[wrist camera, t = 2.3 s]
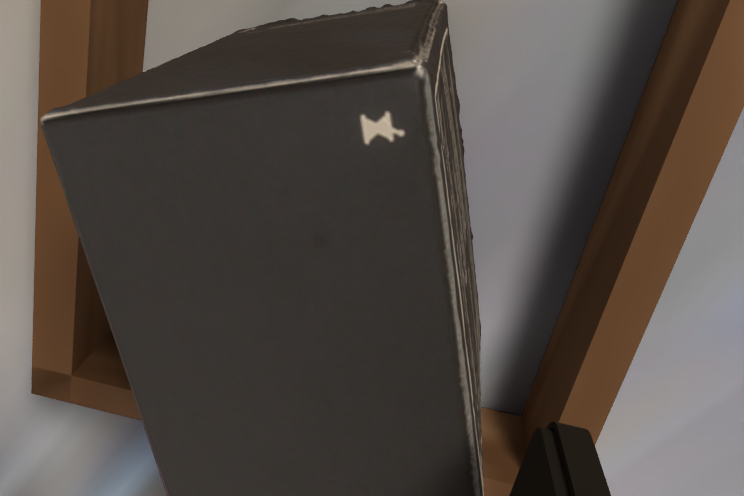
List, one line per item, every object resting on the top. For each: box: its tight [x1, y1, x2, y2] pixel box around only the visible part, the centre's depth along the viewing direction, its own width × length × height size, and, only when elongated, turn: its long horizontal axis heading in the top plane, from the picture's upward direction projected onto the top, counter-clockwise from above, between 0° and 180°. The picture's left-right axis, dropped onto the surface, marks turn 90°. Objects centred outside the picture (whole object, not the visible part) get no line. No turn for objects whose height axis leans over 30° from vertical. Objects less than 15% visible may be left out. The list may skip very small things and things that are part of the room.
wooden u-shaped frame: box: [31, 0, 744, 496], centre depth 19 cm, size 16×20×4 cm
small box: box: [40, 0, 484, 496], centre depth 17 cm, size 11×6×10 cm, turn 9°
